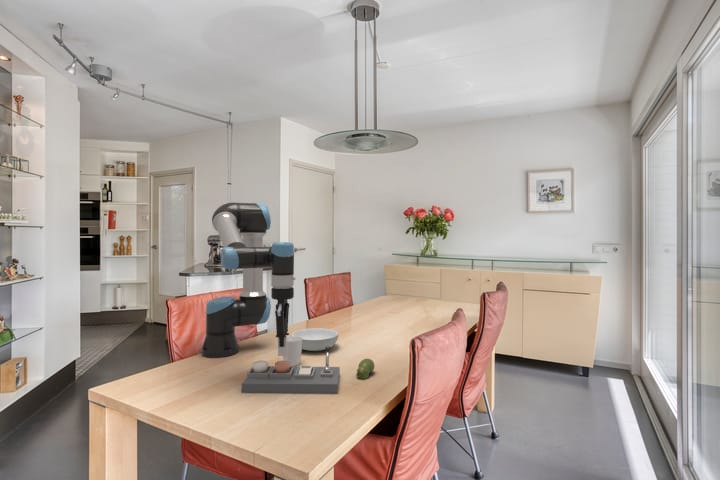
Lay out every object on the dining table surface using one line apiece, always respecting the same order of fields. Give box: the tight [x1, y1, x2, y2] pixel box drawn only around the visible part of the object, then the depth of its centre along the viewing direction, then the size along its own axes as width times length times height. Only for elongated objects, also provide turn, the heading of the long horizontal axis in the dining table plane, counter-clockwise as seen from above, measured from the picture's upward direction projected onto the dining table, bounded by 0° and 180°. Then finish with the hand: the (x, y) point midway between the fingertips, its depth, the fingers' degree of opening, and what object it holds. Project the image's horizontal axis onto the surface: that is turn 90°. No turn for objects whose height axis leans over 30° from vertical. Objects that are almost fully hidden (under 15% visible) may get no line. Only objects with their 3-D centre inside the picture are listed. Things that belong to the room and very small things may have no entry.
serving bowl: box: [291, 327, 339, 352], centre depth 173 cm, size 21×21×7 cm
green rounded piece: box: [356, 358, 375, 380], centre depth 141 cm, size 6×5×10 cm
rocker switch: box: [298, 365, 313, 375], centre depth 133 cm, size 5×4×1 cm
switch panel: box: [241, 365, 341, 394], centre depth 133 cm, size 16×31×5 cm, turn 90°
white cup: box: [282, 335, 303, 367], centre depth 153 cm, size 8×8×10 cm
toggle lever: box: [323, 346, 332, 372], centre depth 134 cm, size 2×2×8 cm
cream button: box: [252, 359, 269, 373], centre depth 132 cm, size 5×5×3 cm
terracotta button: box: [274, 360, 290, 373], centre depth 133 cm, size 5×5×3 cm
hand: (282, 355), depth 132 cm, fingers closed
